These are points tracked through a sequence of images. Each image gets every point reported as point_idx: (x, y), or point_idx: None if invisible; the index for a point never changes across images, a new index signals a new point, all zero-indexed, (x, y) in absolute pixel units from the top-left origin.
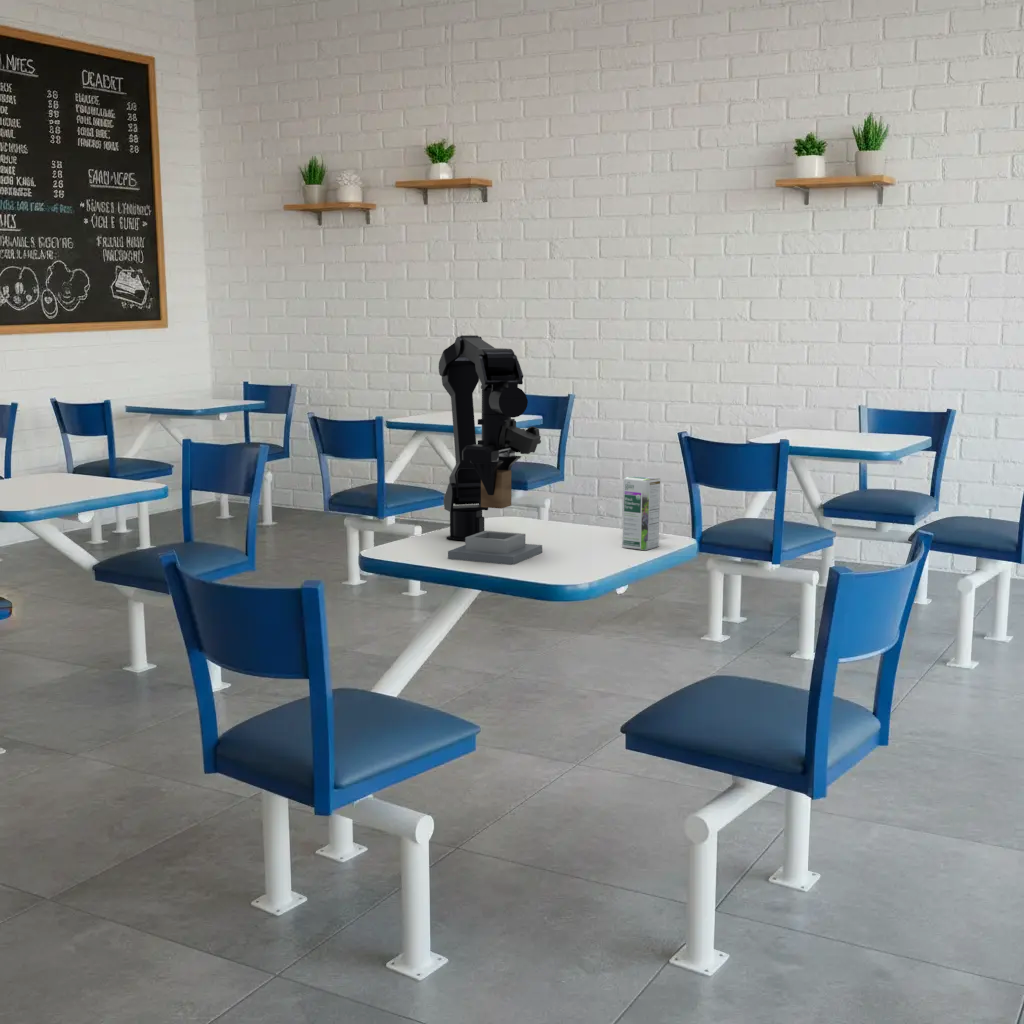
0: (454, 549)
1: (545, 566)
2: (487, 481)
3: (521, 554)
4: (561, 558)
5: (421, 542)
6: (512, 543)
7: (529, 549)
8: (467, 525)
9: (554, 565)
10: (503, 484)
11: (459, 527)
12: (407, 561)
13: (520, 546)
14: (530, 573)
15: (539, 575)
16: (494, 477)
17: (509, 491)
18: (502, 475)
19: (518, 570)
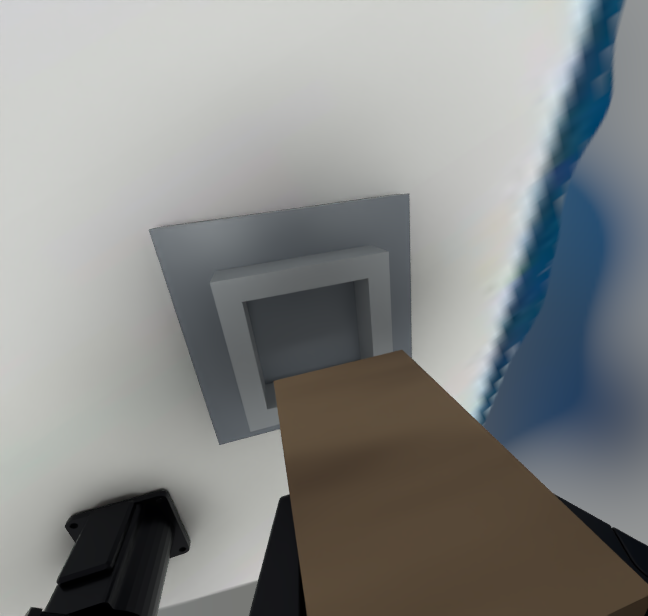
0: None
1: (373, 76)
2: None
3: (344, 202)
4: (206, 94)
5: (259, 547)
6: (334, 256)
7: (262, 221)
8: (149, 554)
9: (342, 50)
10: (478, 463)
11: (166, 559)
12: None
13: (261, 264)
14: (490, 67)
15: (508, 18)
16: (628, 545)
17: (322, 439)
18: (594, 553)
19: (463, 131)
